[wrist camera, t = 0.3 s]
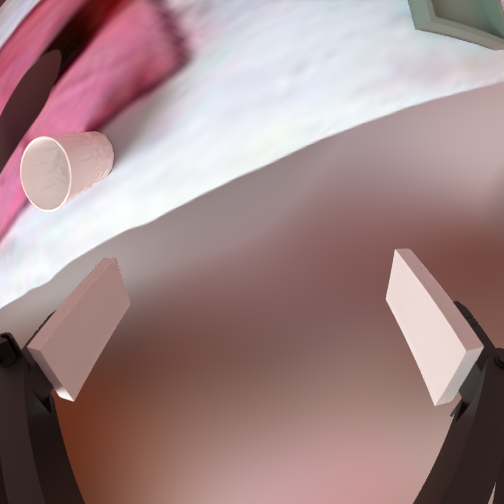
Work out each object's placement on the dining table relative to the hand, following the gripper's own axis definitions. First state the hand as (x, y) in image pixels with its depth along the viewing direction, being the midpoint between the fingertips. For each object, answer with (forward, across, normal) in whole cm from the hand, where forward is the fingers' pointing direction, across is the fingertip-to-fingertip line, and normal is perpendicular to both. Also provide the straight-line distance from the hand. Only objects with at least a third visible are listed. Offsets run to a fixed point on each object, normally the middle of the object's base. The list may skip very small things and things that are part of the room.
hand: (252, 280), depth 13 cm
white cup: (+28, -26, +4) cm, 38 cm away
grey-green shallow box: (+28, +31, +31) cm, 52 cm away
